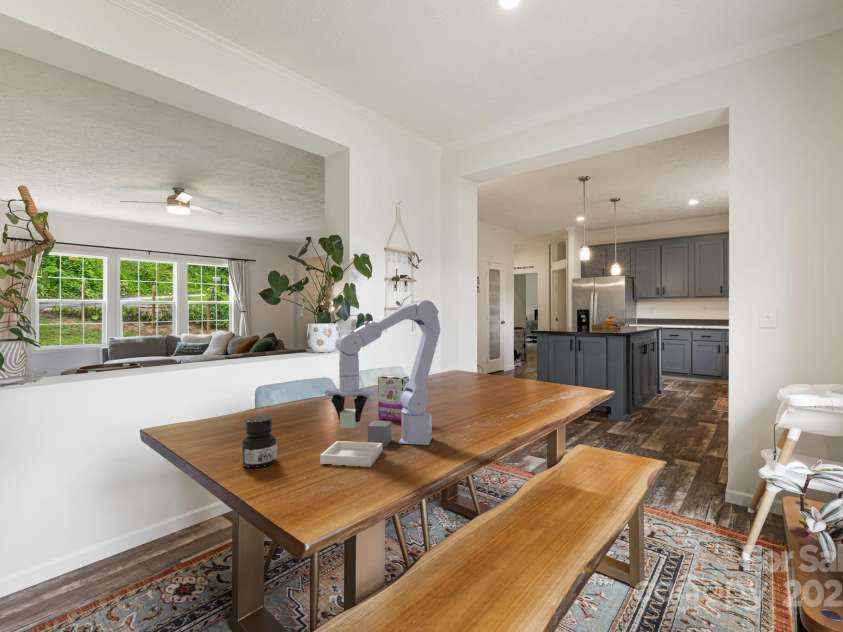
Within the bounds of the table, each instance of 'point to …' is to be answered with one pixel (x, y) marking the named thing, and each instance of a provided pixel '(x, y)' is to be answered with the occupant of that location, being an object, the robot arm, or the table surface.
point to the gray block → (380, 432)
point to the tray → (352, 453)
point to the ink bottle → (259, 442)
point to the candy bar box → (390, 397)
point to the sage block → (348, 418)
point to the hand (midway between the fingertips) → (349, 421)
